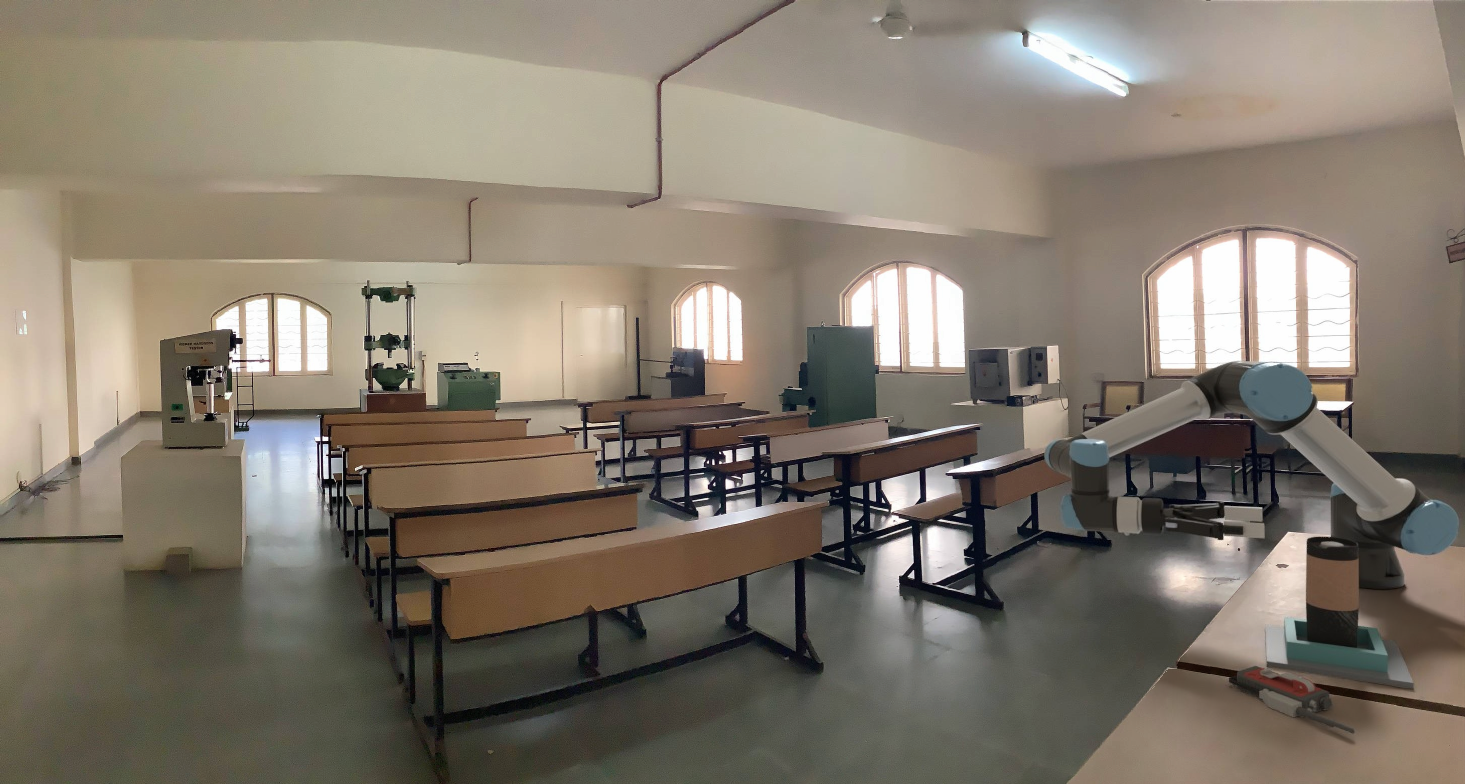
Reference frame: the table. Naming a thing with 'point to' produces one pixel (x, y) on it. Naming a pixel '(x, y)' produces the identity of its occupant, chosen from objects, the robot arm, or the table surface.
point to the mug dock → (1336, 655)
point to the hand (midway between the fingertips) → (1263, 522)
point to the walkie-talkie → (1287, 694)
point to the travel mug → (1332, 591)
